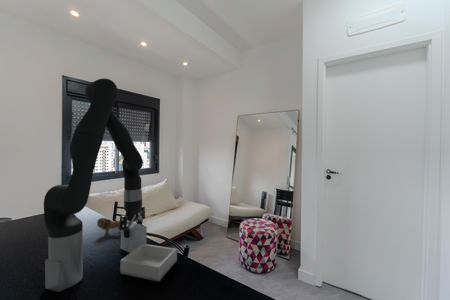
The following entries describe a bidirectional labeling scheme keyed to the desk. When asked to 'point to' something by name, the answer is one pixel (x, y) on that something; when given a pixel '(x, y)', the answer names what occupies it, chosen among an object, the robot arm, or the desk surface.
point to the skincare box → (133, 237)
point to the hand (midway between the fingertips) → (133, 233)
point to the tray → (148, 262)
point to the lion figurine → (108, 225)
